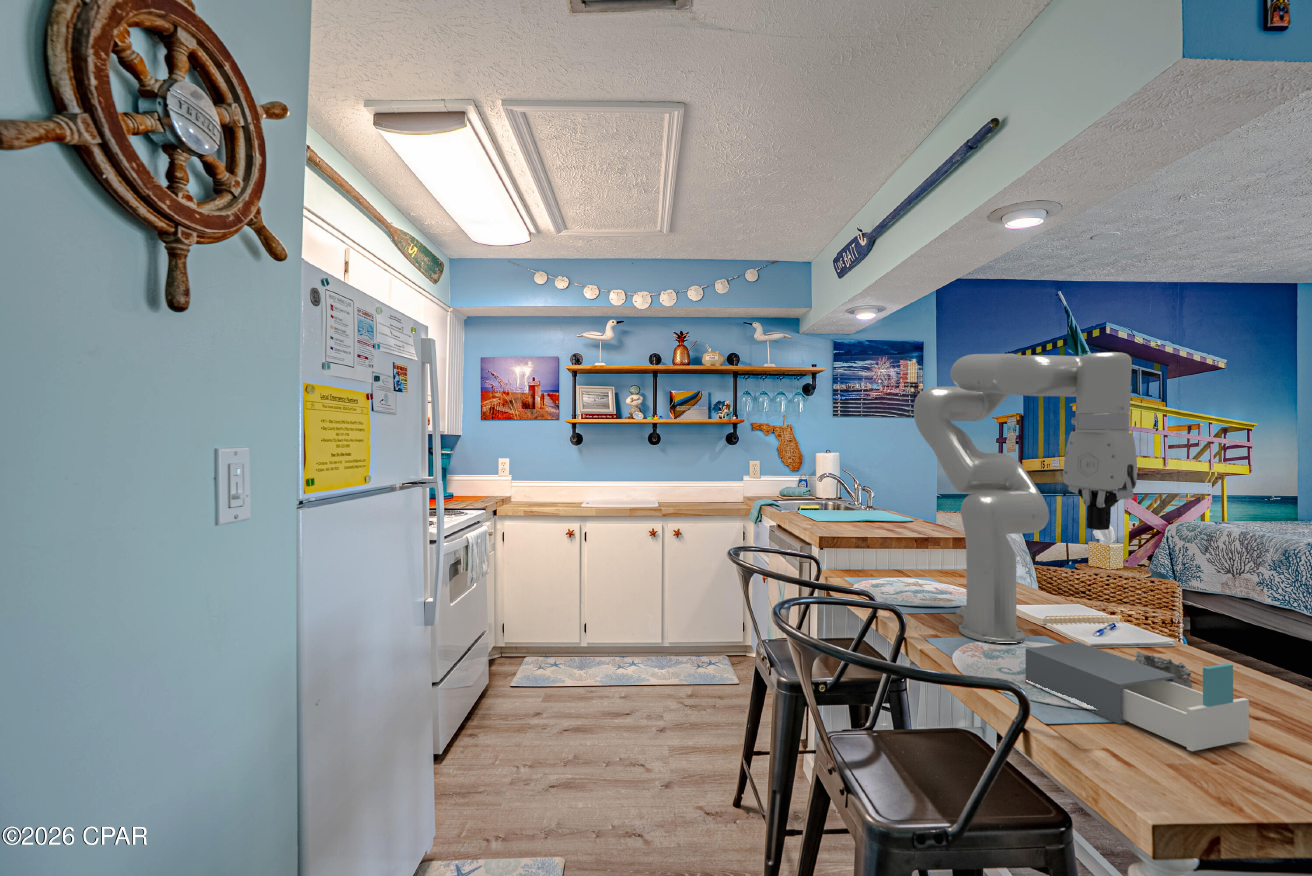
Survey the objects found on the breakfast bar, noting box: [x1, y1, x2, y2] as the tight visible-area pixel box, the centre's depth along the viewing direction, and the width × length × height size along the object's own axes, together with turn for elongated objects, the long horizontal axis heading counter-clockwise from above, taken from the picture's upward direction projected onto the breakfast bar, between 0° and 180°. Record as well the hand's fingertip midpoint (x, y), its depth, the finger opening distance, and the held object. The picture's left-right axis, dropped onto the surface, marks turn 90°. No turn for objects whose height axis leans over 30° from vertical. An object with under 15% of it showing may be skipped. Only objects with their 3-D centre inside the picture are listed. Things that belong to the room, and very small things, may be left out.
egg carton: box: [1134, 651, 1193, 689], centre depth 104 cm, size 11×8×4 cm
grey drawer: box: [1122, 663, 1250, 752], centre depth 90 cm, size 16×11×11 cm
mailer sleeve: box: [1025, 641, 1176, 725], centre depth 98 cm, size 16×12×6 cm
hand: (1098, 528), depth 104 cm, fingers closed
